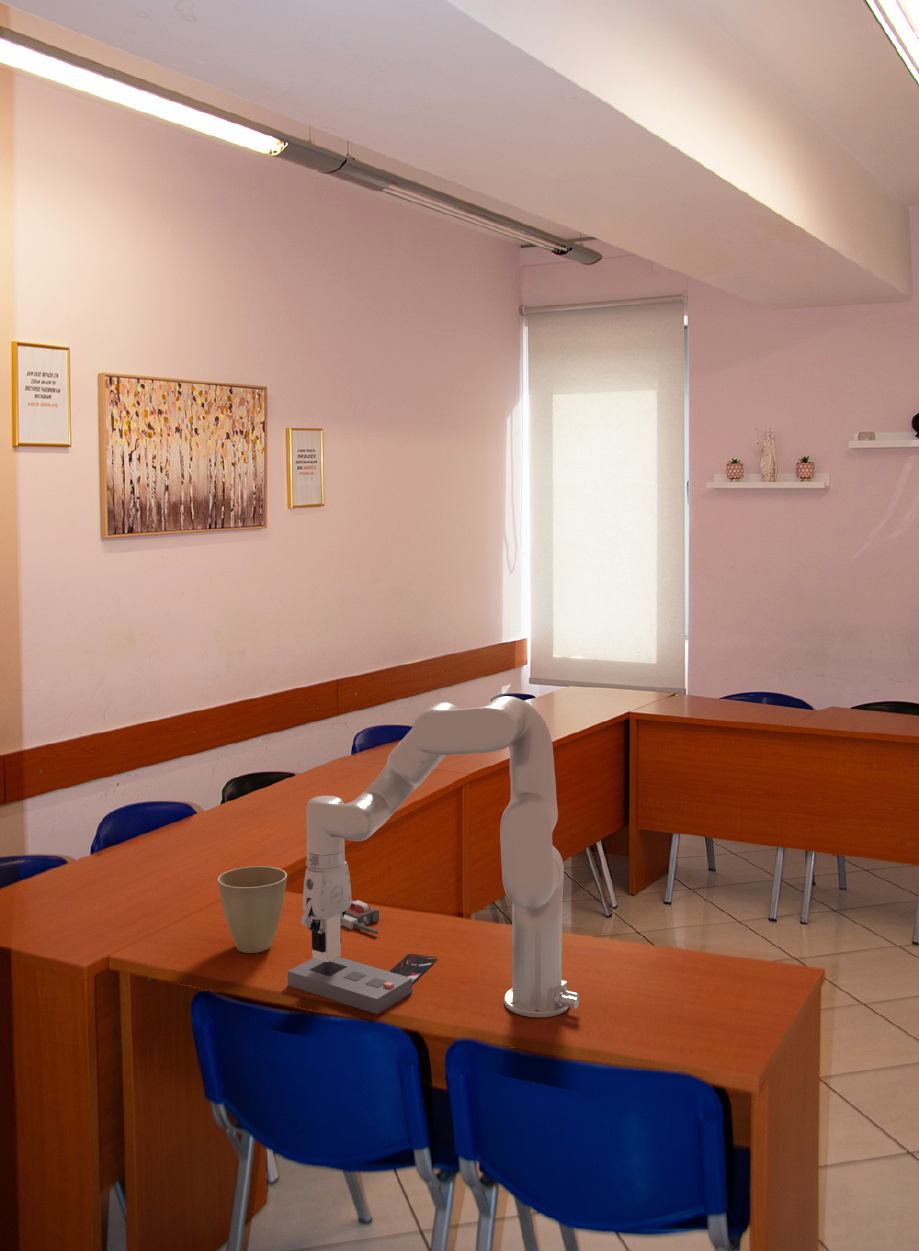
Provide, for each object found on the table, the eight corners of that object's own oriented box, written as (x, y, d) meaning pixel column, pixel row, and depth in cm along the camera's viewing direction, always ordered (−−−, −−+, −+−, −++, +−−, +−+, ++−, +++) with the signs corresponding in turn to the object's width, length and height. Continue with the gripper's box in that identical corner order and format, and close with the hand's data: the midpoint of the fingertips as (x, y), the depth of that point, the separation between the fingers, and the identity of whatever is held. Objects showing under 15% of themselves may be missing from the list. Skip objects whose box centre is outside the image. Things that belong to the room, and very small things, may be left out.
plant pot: (297, 952, 228) (295, 881, 226) (229, 965, 221) (227, 891, 220) (277, 929, 241) (276, 861, 240) (212, 940, 235) (210, 871, 233)
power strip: (412, 992, 208) (411, 975, 207) (377, 1014, 198) (376, 995, 198) (324, 966, 220) (324, 949, 220) (287, 985, 211) (287, 968, 211)
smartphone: (439, 957, 224) (410, 985, 210) (439, 960, 224) (410, 988, 210) (408, 952, 227) (378, 980, 213) (408, 955, 227) (378, 983, 213)
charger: (340, 955, 213) (340, 911, 212) (327, 962, 209) (327, 917, 208) (325, 951, 215) (325, 907, 214) (312, 957, 212) (312, 913, 211)
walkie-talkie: (318, 917, 249) (374, 940, 235) (317, 899, 249) (373, 921, 235) (346, 907, 255) (402, 929, 242) (346, 890, 255) (402, 910, 241)
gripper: (311, 873, 201) (312, 965, 203) (366, 851, 215) (367, 937, 217) (282, 866, 205) (284, 956, 207) (339, 844, 219) (339, 929, 221)
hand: (326, 945), depth 212 cm, fingers closed on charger, 4 cm apart
